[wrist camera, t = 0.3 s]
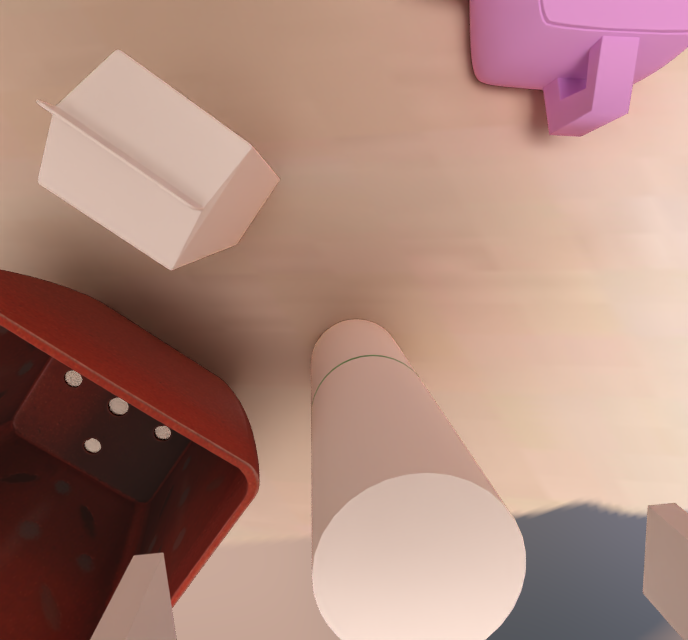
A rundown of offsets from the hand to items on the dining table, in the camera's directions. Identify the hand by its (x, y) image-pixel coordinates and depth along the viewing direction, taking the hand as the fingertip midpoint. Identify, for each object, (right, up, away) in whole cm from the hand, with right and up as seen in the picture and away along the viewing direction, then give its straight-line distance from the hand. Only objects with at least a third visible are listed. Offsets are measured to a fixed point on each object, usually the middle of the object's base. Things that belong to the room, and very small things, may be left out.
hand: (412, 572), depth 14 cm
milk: (-11, +17, +25) cm, 31 cm away
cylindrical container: (-1, +3, +28) cm, 28 cm away
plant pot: (-20, 0, +27) cm, 34 cm away
